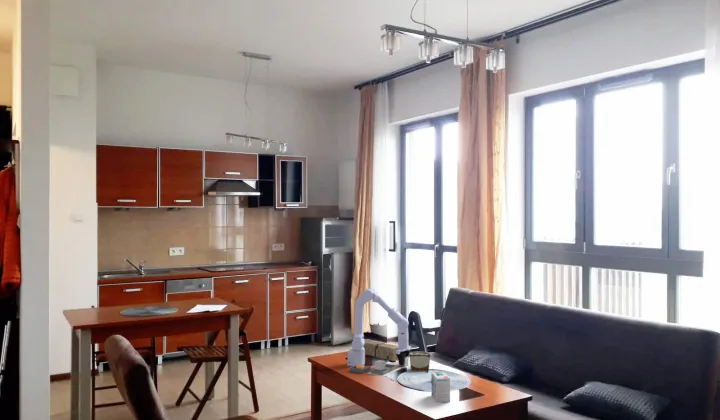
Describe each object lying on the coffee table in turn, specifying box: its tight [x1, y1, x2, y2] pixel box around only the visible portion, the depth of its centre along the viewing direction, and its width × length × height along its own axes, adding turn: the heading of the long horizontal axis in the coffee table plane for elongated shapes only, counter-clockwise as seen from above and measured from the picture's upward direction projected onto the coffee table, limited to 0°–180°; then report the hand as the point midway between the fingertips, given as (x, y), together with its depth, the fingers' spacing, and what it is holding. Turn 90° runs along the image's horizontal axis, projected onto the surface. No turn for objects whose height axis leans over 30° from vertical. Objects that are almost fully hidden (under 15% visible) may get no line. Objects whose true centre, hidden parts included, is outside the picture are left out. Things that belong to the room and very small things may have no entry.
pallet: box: [366, 363, 402, 377], centre depth 305 cm, size 11×19×2 cm, turn 149°
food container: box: [409, 350, 432, 372], centre depth 309 cm, size 12×6×10 cm, turn 84°
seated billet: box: [374, 359, 386, 372], centre depth 301 cm, size 4×4×6 cm
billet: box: [398, 356, 409, 368], centre depth 316 cm, size 4×4×6 cm
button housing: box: [349, 365, 371, 375], centre depth 305 cm, size 8×8×3 cm
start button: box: [355, 364, 365, 369], centre depth 305 cm, size 4×4×3 cm
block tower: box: [363, 338, 398, 362], centre depth 344 cm, size 8×8×29 cm
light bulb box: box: [430, 371, 451, 403], centre depth 259 cm, size 11×7×11 cm, turn 5°
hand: (403, 364), depth 316 cm, fingers open, 4 cm apart
